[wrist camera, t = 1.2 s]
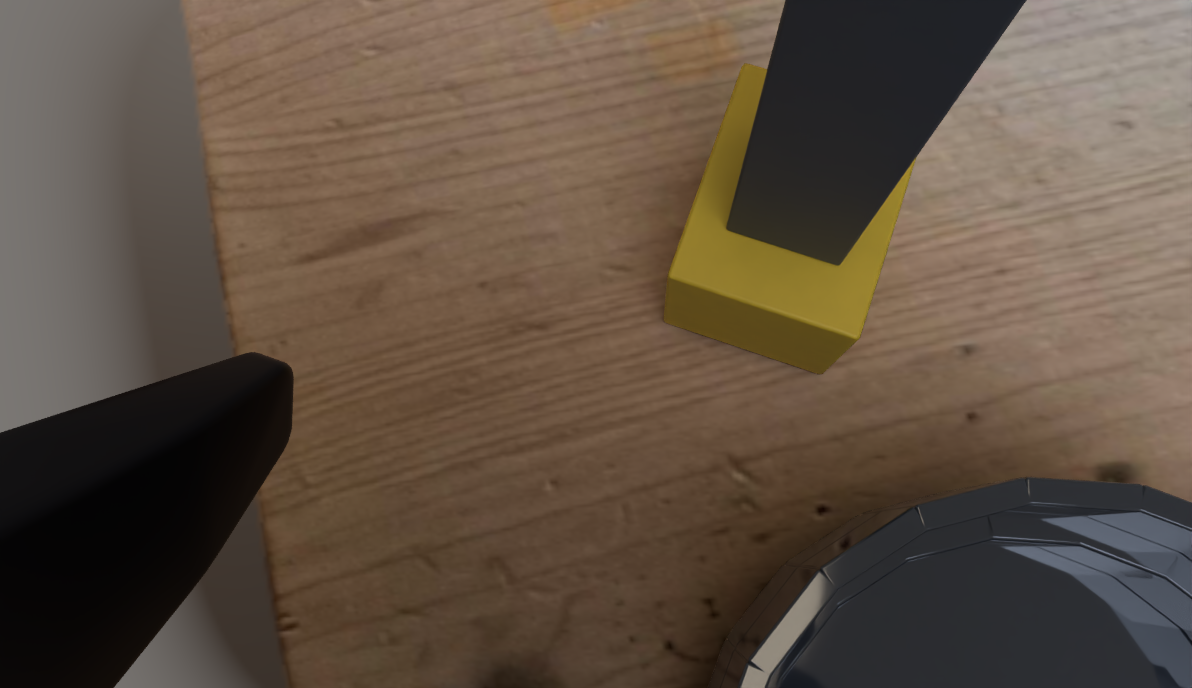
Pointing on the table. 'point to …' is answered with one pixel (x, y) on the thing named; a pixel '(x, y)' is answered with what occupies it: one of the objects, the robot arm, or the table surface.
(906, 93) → the sponge wand
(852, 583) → the bowl
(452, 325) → the table surface
